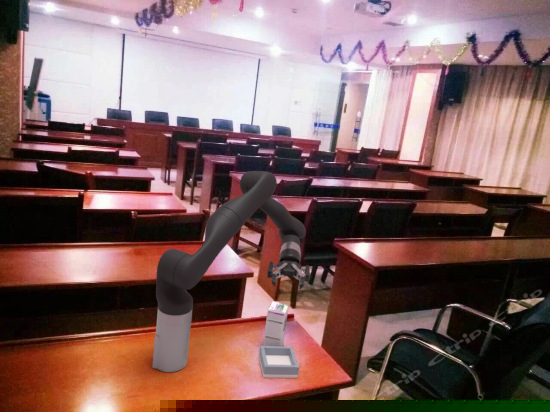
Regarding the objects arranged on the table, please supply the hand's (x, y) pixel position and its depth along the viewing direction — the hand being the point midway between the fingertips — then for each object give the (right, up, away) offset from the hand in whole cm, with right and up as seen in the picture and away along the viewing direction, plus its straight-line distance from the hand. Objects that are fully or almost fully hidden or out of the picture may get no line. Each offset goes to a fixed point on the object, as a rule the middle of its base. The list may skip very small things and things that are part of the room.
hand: (287, 285), depth 129 cm
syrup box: (-5, -20, -2) cm, 20 cm away
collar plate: (-3, -22, -11) cm, 25 cm away
